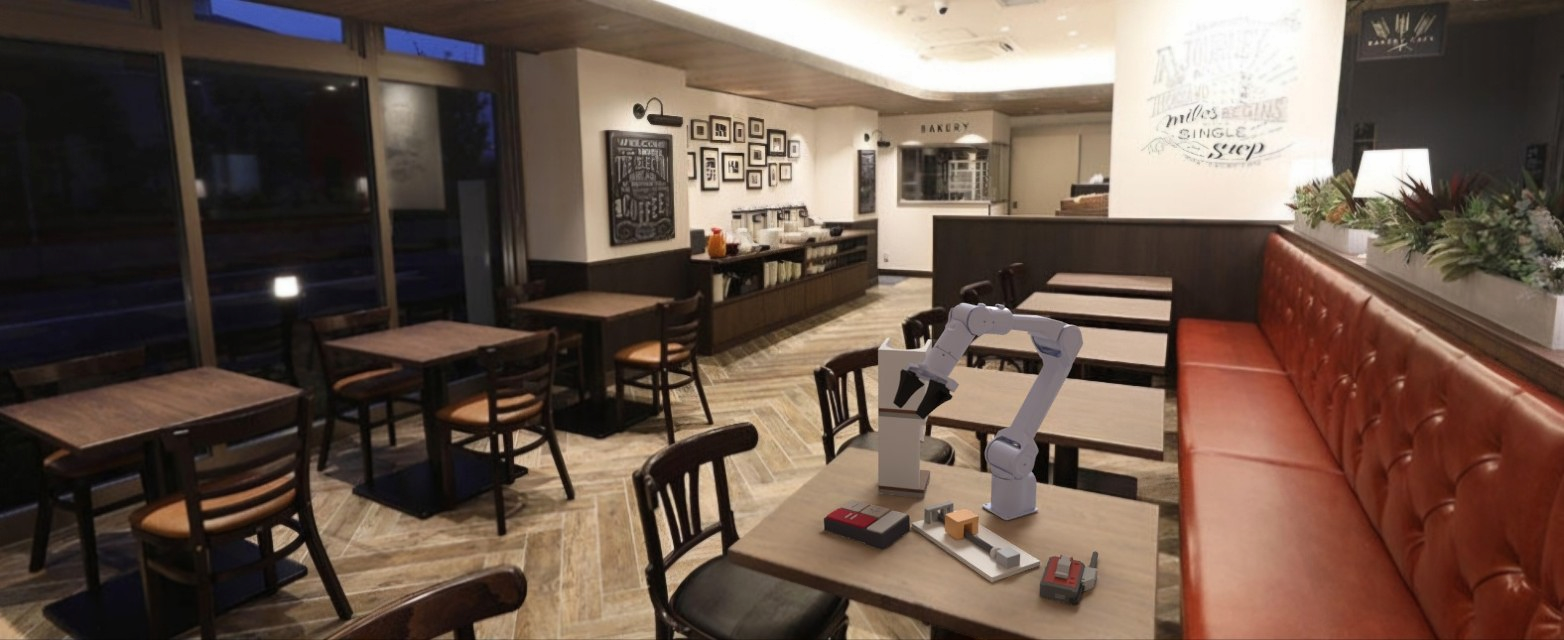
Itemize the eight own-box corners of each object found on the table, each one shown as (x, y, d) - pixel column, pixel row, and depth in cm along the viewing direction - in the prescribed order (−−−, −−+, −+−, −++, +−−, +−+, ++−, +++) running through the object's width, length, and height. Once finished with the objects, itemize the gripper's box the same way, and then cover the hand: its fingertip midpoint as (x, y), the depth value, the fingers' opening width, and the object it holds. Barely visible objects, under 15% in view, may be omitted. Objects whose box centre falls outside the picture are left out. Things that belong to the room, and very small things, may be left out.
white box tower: (923, 498, 183) (925, 351, 175) (878, 493, 186) (878, 349, 179) (929, 478, 194) (931, 339, 186) (886, 474, 197) (886, 337, 189)
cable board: (956, 514, 175) (956, 496, 174) (1039, 565, 153) (1040, 545, 152) (911, 527, 169) (911, 509, 168) (991, 582, 148) (992, 561, 147)
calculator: (851, 497, 177) (910, 511, 168) (852, 515, 178) (911, 530, 168) (822, 515, 169) (882, 531, 159) (823, 534, 170) (883, 551, 160)
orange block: (965, 525, 167) (965, 508, 166) (978, 533, 163) (978, 515, 162) (944, 531, 164) (945, 514, 164) (957, 539, 161) (957, 522, 160)
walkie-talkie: (1088, 613, 138) (1101, 560, 155) (1090, 590, 137) (1102, 539, 154) (1036, 601, 142) (1054, 550, 159) (1037, 579, 141) (1055, 530, 158)
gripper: (911, 337, 164) (875, 391, 162) (956, 352, 151) (917, 410, 150) (931, 355, 167) (896, 408, 166) (977, 371, 155) (939, 429, 153)
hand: (908, 410), depth 158 cm, fingers open, 7 cm apart
